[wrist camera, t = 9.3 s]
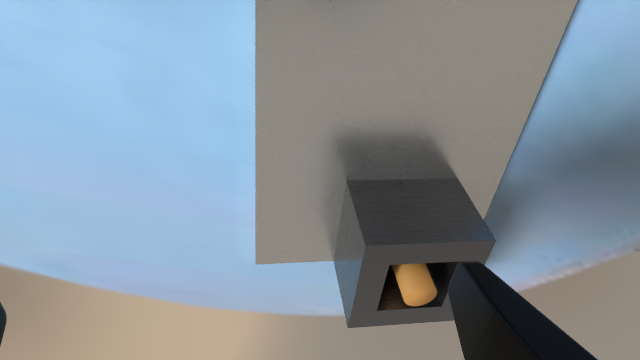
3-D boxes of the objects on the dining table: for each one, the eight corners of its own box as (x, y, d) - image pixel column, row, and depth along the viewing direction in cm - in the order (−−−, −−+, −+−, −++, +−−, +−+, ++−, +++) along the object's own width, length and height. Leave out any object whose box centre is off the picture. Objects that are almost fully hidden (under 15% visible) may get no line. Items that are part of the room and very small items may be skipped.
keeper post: (409, 210, 24) (440, 283, 21) (403, 231, 25) (432, 304, 22) (380, 211, 24) (407, 285, 20) (375, 232, 25) (400, 307, 21)
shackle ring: (457, 178, 23) (495, 240, 20) (430, 256, 27) (458, 319, 24) (346, 180, 22) (365, 245, 19) (333, 260, 26) (347, 327, 23)
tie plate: (643, -183, 15) (734, -184, 12) (465, 247, 28) (490, 294, 25) (255, -234, 13) (258, -249, 10) (255, 256, 26) (257, 308, 23)
